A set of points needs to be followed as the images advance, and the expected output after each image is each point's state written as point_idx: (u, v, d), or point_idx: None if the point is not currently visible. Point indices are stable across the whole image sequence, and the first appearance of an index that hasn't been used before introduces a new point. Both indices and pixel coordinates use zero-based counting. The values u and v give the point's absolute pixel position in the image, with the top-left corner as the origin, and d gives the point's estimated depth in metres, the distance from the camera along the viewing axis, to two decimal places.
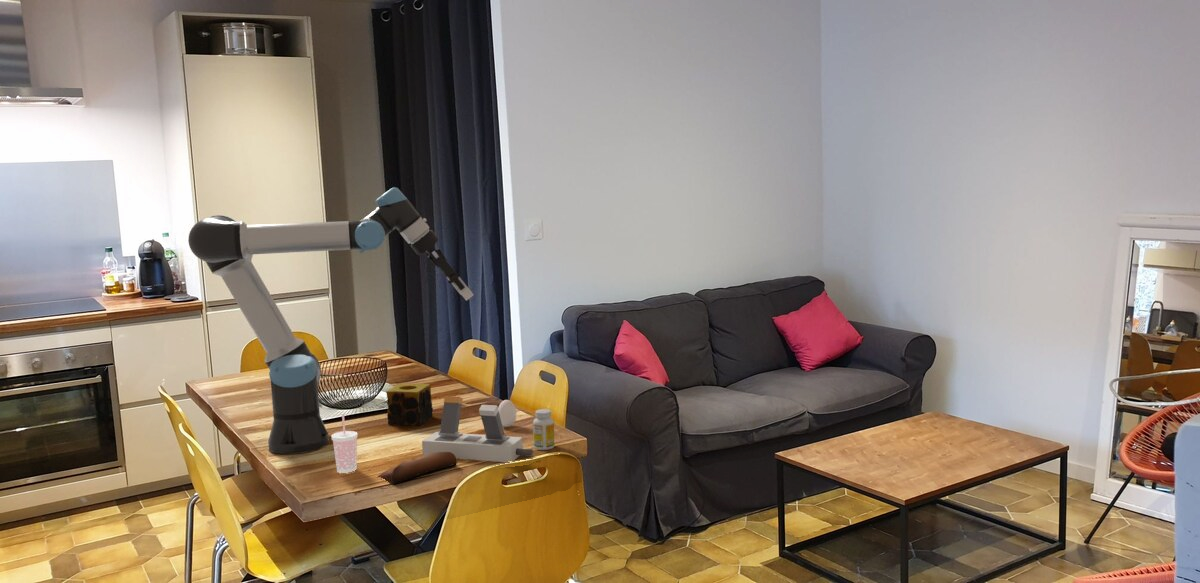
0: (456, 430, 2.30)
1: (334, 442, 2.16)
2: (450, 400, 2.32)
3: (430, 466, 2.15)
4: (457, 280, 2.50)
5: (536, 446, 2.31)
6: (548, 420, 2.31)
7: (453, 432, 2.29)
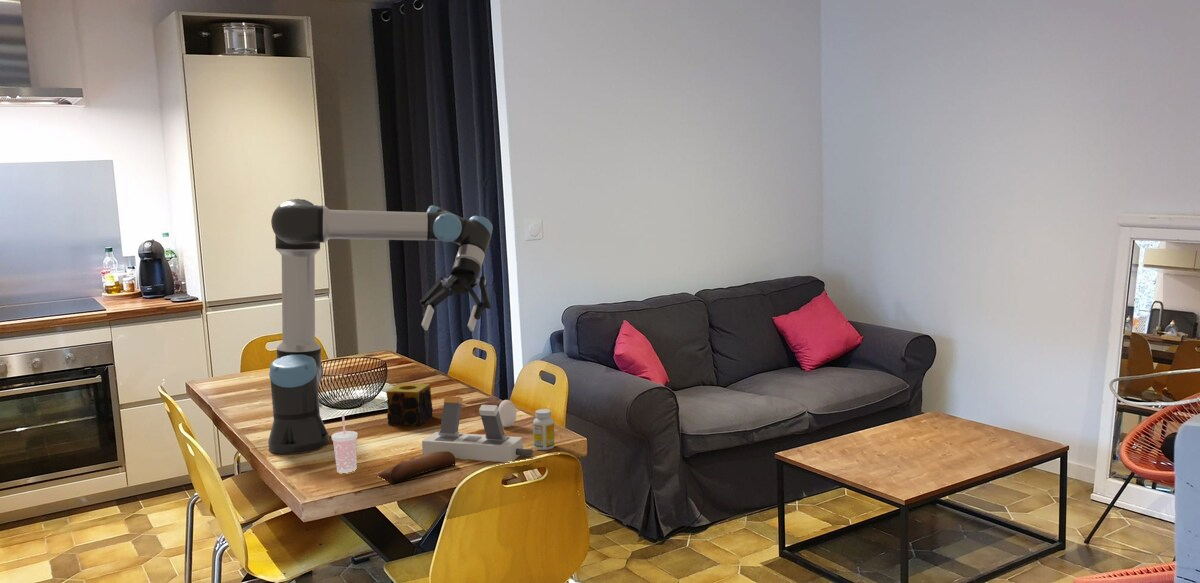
0: (456, 430, 2.30)
1: (334, 442, 2.16)
2: (450, 400, 2.32)
3: (429, 466, 2.15)
4: (482, 309, 2.41)
5: (536, 446, 2.31)
6: (548, 420, 2.31)
7: (453, 432, 2.29)
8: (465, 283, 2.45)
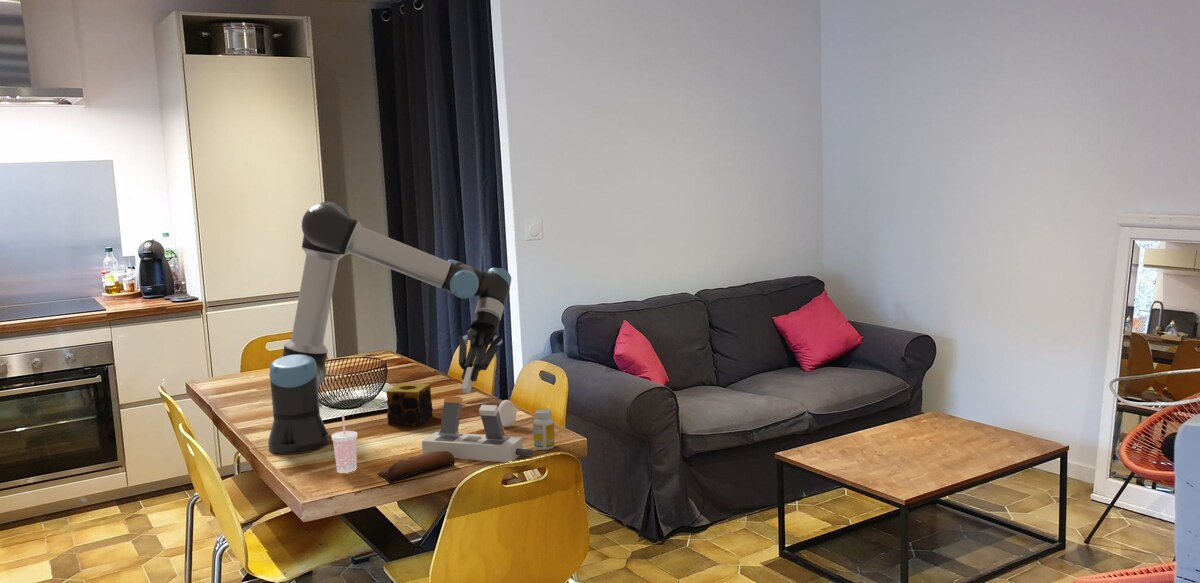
0: (456, 430, 2.30)
1: (334, 442, 2.16)
2: (450, 400, 2.32)
3: (427, 465, 2.15)
4: (478, 371, 2.42)
5: (536, 446, 2.31)
6: (548, 420, 2.31)
7: (453, 432, 2.29)
8: (481, 338, 2.46)
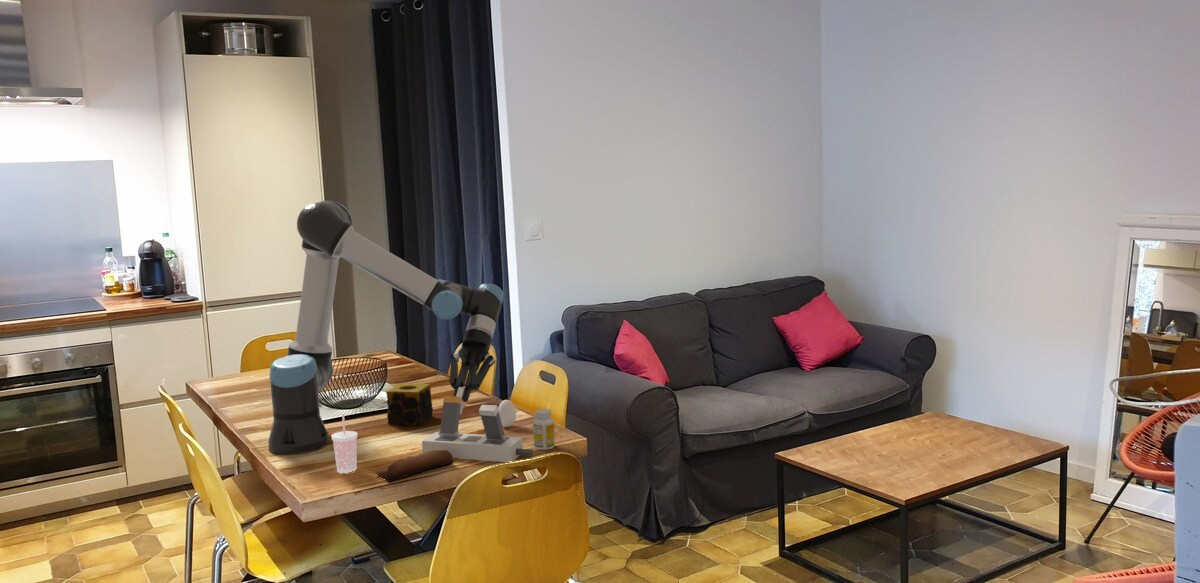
0: (456, 430, 2.30)
1: (334, 442, 2.16)
2: (449, 400, 2.31)
3: (426, 464, 2.16)
4: (469, 391, 2.37)
5: (536, 446, 2.31)
6: (548, 420, 2.31)
7: (453, 432, 2.29)
8: (473, 357, 2.41)
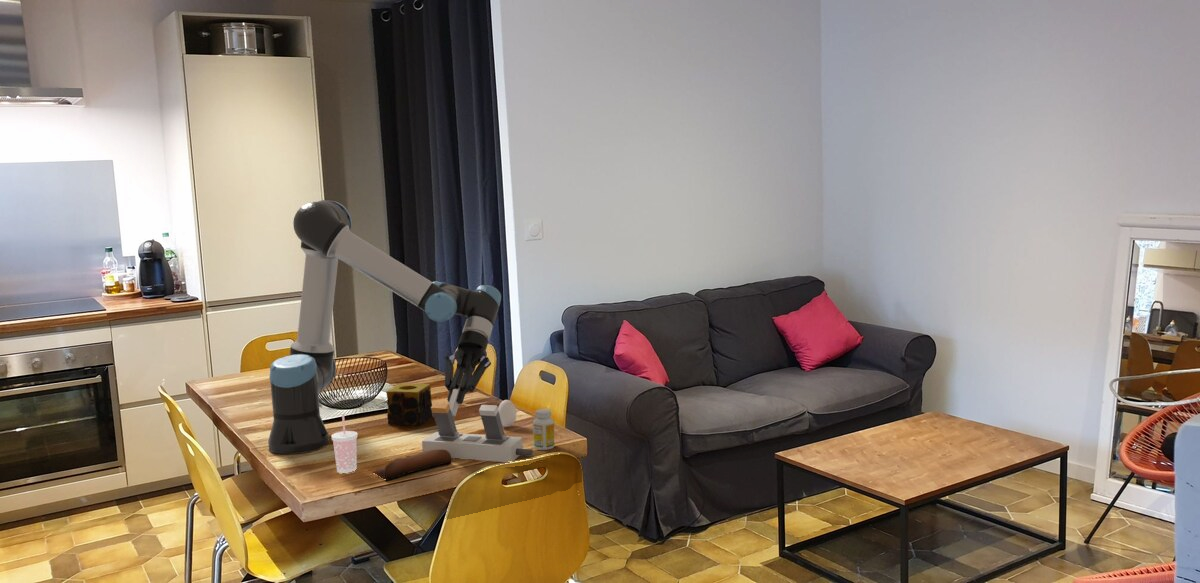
0: (455, 431, 2.29)
1: (334, 442, 2.16)
2: (438, 411, 2.25)
3: (424, 463, 2.17)
4: (464, 393, 2.34)
5: (536, 446, 2.31)
6: (548, 420, 2.31)
7: (453, 435, 2.29)
8: (468, 358, 2.38)
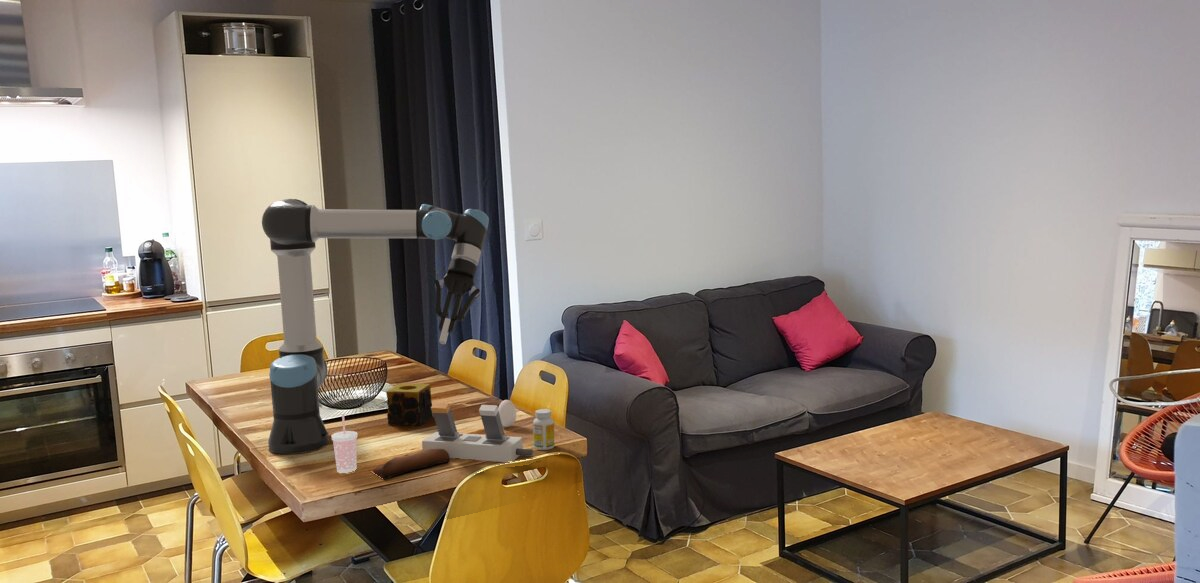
0: (455, 431, 2.29)
1: (334, 442, 2.16)
2: (438, 411, 2.25)
3: (422, 462, 2.18)
4: (455, 322, 2.44)
5: (536, 446, 2.31)
6: (548, 420, 2.31)
7: (453, 435, 2.29)
8: (460, 287, 2.45)
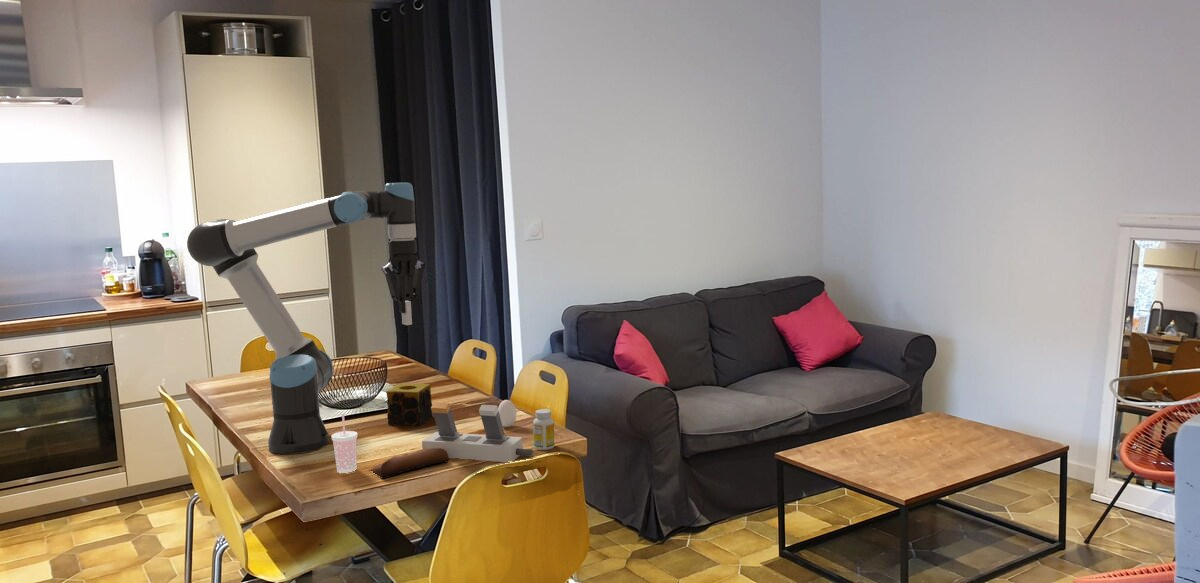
0: (455, 431, 2.29)
1: (334, 442, 2.16)
2: (438, 411, 2.25)
3: (421, 462, 2.18)
4: None
5: (536, 446, 2.31)
6: (548, 420, 2.31)
7: (453, 435, 2.29)
8: (410, 268, 2.48)
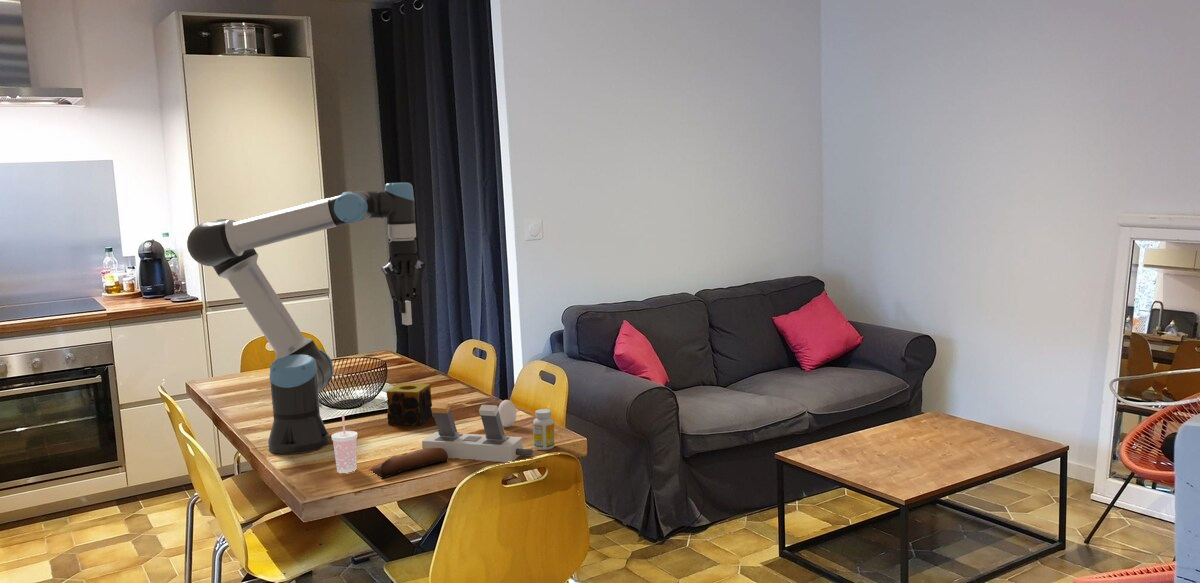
0: (455, 431, 2.29)
1: (334, 442, 2.16)
2: (438, 411, 2.25)
3: (420, 461, 2.18)
4: None
5: (536, 446, 2.31)
6: (548, 420, 2.31)
7: (453, 435, 2.29)
8: (410, 268, 2.48)
